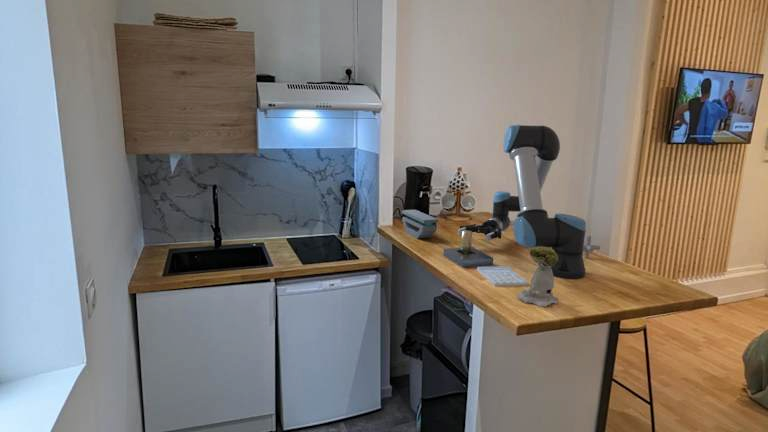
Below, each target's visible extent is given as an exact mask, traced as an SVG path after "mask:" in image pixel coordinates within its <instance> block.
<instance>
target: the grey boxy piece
mask: <svg viewBox="0 0 768 432" xmlns="http://www.w3.org/2000/svg"><path fill="white" fill-rule="evenodd" d="M401 214H403V215H404V216H402V224H403V227H404V229H405V233H406V234H407V235H409V236H410V237H413V238H415V239H416V240H418V239H431V238H432V237H433V235H434V234H435V233H436V231H437V230H438V225H437V224H435V223H439V219H438V218H436V217H434V216H432V215H429V214H426V213H424V212H421V210H417V209H404V210H403V209H402V210H401Z"/></svg>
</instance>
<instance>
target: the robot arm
mask: <svg viewBox="0 0 768 432" xmlns="http://www.w3.org/2000/svg"><path fill="white" fill-rule="evenodd" d="M560 143H561V142H560V138H559V136H558V134H557V133H556V132H555V130H553V129H552V128H551V127H549V126H547V125H546V126H545V125H521V124H515V125H510V126H508V128H507V129H506V131H505V134H504V137H503V151H504V152H505V153H506V154H508V155H509V159H510V160H511V161H512V162H513V164H514V170H515V178H516V179H515V181H516V187H517V195H511V192H508V191H503V190H502V191H501V190H498V191H496V192H494V195H493V201H492V203H493V204H492V205H493V207H492V216H491V218H489V219H487V220H485V221H483V223H481V225H480V224H479V225H478V224H476V223H474V224H469V225H468V224H466V225H459V229H457V236H458V237H461V236H462V231H464V230H467V231H472V233H476V234H484V235H485V241H486V242H488V241H491V240H493V239H500V240H501V239H502V234H503V233H502V232H504V231H506V230H507V229H508V228H509V227H510V226H511V219H510V217H509V212H512V213H513V212H517V214H516V217H515V219H514V220H513V222H512V223H513V225H512V226H513V229H512V231H513V234H514V235H513V236H514V238H515V241H516V242H517V243H516V244H518V245H519V246H521V247H523V248H526V247H527V248H531V249H532V248H533V247H534V248H535V247H548V248H551V249H553V250H554V251H555V252H556V254H557V256H558V261H557V262H556V263H555V265H554V266H551V269H552V273H553V277H556V278H561V279H563V278H564V279H570V280H571V279H573V280H574V279H582V278H585V276H586V268H585V263H584V262H585V261H584V258H583V257H584V256H583V254H584V249H583V247H584V242H585V239H586V238H585V236H586V231H587V227H586V226H587V222H586V220H584V218H582V217H579V216H575V215H571V214H566V213H555V214H554V217H549V214H548V211H547V210H546V209H545V208H543V201H542V195H541V192H542V189H543V186H544V184H545V182H546V180H547V177H548V174H549V172H550V169H551V168H552V165H553V162H554V161H556V160H557V159H558V157H559V154H560V151H561V144H560Z"/></svg>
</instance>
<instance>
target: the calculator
mask: <svg viewBox="0 0 768 432" xmlns="http://www.w3.org/2000/svg"><path fill="white" fill-rule="evenodd" d="M476 267H477V268H476V270H477V272H478V271H479V274H480V275H482V276H483V277H484V279H486V280H487V281H488V282H489V283H490V284H491V286H493V285H494V286H493V287H522V286H523V287H525V286H528V283H529V282H527V280H525V278H523V277H522V276H520V275H519V274H518V273H517V272H515V270H513V269H511V267H509V266H506V265H505V266H503V265H502V266H494V265H490V266H476Z"/></svg>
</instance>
